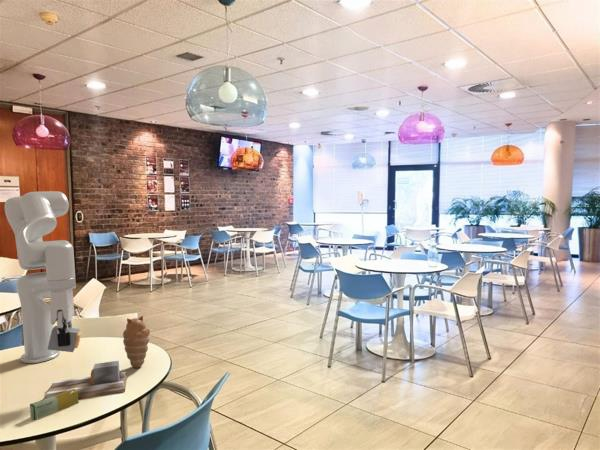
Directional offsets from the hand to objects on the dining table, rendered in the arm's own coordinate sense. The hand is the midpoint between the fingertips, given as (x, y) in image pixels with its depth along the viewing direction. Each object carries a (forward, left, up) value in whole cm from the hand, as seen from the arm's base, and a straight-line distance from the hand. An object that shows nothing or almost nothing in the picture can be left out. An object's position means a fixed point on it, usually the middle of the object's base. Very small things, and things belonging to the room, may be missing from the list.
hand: (65, 342), depth 131 cm
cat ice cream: (-12, +19, -16) cm, 28 cm away
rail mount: (0, +5, -15) cm, 16 cm away
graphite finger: (0, -1, -2) cm, 2 cm away
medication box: (+11, -2, -16) cm, 19 cm away
